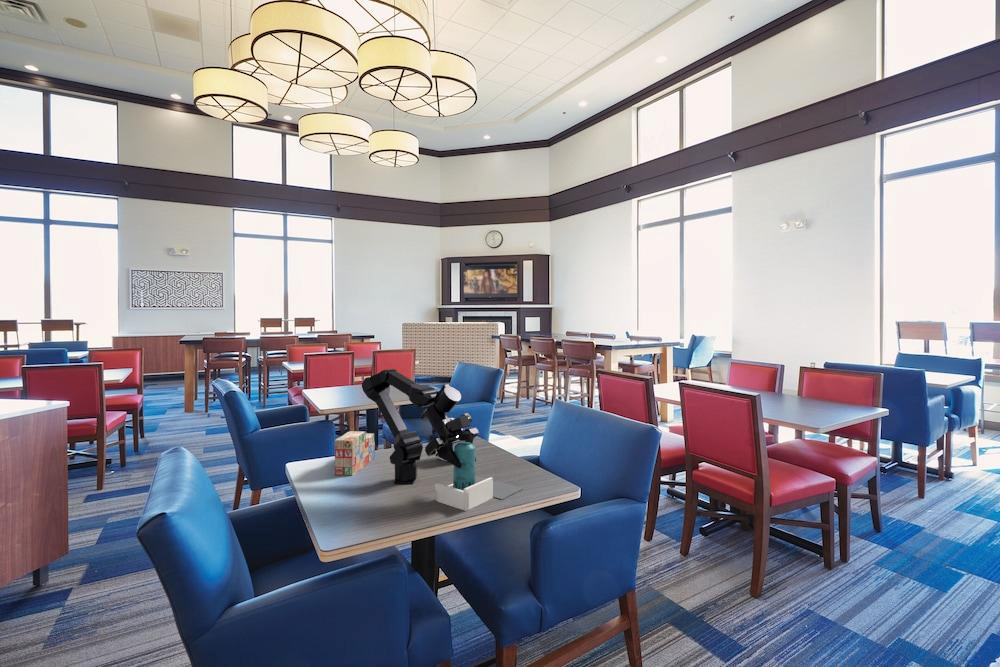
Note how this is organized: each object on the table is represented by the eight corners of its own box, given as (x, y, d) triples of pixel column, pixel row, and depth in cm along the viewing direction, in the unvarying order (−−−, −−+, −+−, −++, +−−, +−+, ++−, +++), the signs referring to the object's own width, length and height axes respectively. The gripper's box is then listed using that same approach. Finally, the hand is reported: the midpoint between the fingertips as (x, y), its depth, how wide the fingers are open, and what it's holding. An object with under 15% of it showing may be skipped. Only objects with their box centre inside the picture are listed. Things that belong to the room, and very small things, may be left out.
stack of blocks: (359, 457, 180) (359, 425, 180) (375, 457, 180) (374, 425, 179) (334, 475, 159) (334, 439, 159) (352, 476, 158) (352, 439, 158)
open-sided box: (435, 500, 137) (435, 480, 137) (462, 489, 147) (462, 469, 147) (466, 511, 130) (466, 489, 130) (492, 498, 140) (493, 477, 139)
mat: (456, 486, 149) (456, 485, 149) (478, 477, 158) (478, 476, 158) (502, 499, 138) (502, 498, 138) (523, 489, 147) (523, 488, 147)
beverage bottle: (454, 495, 142) (454, 429, 141) (476, 495, 141) (476, 429, 141) (451, 503, 135) (451, 434, 135) (474, 503, 135) (475, 434, 134)
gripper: (432, 410, 132) (461, 456, 126) (474, 401, 147) (502, 441, 141) (412, 433, 137) (440, 479, 131) (456, 422, 152) (482, 462, 146)
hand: (468, 464), depth 137 cm, fingers closed on beverage bottle, 6 cm apart
